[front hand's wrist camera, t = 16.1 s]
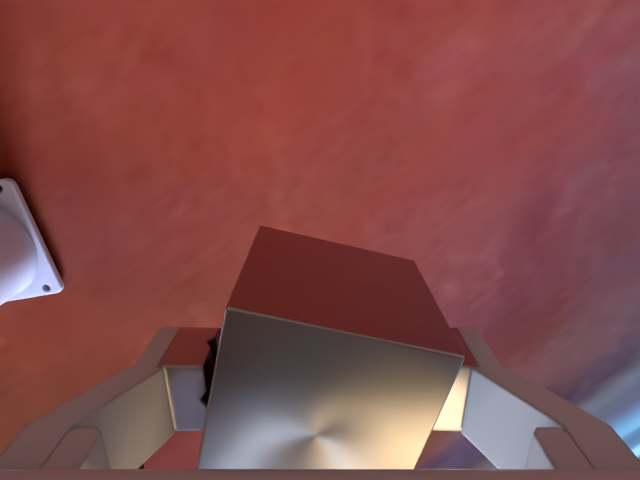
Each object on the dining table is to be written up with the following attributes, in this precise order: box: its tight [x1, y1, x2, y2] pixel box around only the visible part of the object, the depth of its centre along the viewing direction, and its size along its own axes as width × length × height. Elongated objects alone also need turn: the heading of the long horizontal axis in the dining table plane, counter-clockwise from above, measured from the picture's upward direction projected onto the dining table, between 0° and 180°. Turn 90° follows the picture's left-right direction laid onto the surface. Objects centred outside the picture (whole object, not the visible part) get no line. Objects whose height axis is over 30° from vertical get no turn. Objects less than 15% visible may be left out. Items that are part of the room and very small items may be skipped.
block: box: [196, 226, 465, 469], centre depth 10 cm, size 4×5×4 cm
